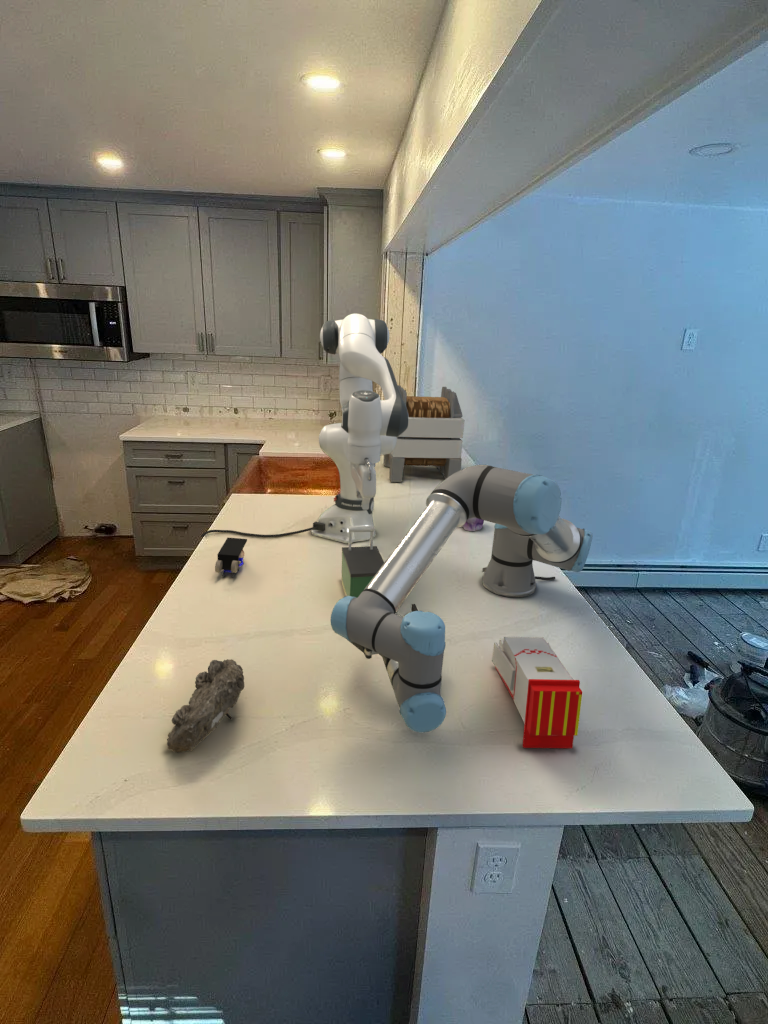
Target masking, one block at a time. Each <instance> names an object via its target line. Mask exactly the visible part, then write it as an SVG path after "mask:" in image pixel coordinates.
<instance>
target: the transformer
mask: <svg viewBox="0 0 768 1024" xmlns="http://www.w3.org/2000/svg"><path fill="white" fill-rule="evenodd" d="M397 385H398V388H399V391H400V394H401V397H402V399H403V401H404V403H405V405H406V407H407V411H408V415H409V422H408V427H407V429H406V430H405V431H404V432H403V433H402V434H401V435H399V436H398V437H397V443H396V446H395V448H394V450H393V451H392V452H391V453H390V454H386V455H383V466H384V467H388V468H389V475H388V476H389V477H388V478H389V480H390V482H391V483H402V482H403V475H404V469H405V466H406V467H407V466H411V467H412V466H413V467H415V466H416V467H417V466H418V467H436V468H437V470H438V469H439V473H440V474H441V475H443V478H444V480H445V479H446V478H448V477H449V476H451V475H452V474H454V473H456V472H458V471H460V470H462V461H463V460H462V453H463V442H464V441H463V440H462V439H463V438H464V431H465V430H464V429H465V419H464V418H463V411H462V408H461V405H460V402H459V398H458V395H457V392H455V391H453V390H452V389H451V388H447V386H442V387H441V392H440V393H441V394H440V396H415V395H414V396H413V395H412V396H411V395H407V394H408V393H407V390H406V389H404V388H403V387H402V385H399V384H397Z"/></svg>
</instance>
